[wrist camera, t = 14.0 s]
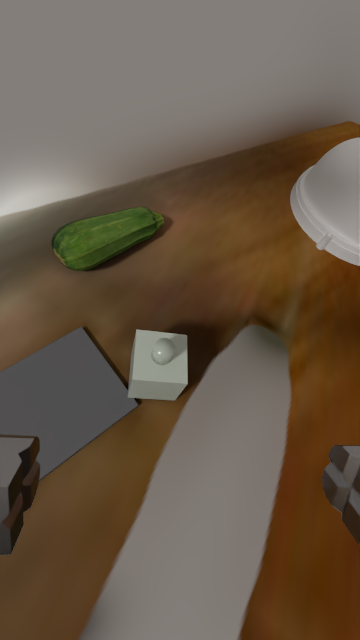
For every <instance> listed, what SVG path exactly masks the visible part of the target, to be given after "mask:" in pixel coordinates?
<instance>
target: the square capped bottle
mask: <svg viewBox="0 0 360 640" xmlns="http://www.w3.org/2000/svg"><path fill="white" fill-rule="evenodd" d="M187 384H188V370H187V335H182V334H173V333H164V332H154V331H145V330H136V335H135V339H134V344H133V349H132V355H131V365H130V376H129V387H128V398H144V399H160V400H176V398H177V397H178V396H179V395H180V393H181V392H182V391H183V389H184V388H185V387H186V385H187Z"/></svg>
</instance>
